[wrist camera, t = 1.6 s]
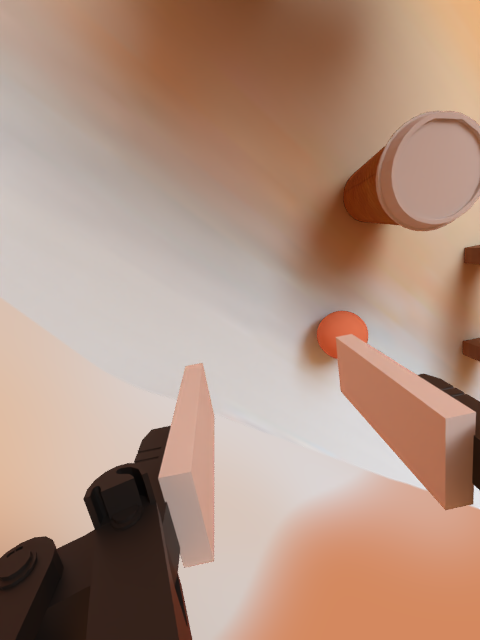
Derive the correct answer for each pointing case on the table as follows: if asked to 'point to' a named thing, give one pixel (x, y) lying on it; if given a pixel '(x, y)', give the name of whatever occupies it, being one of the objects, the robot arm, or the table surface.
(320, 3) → the table surface
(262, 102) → the table surface
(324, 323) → the ball
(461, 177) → the disposable coffee cup
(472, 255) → the bridge
